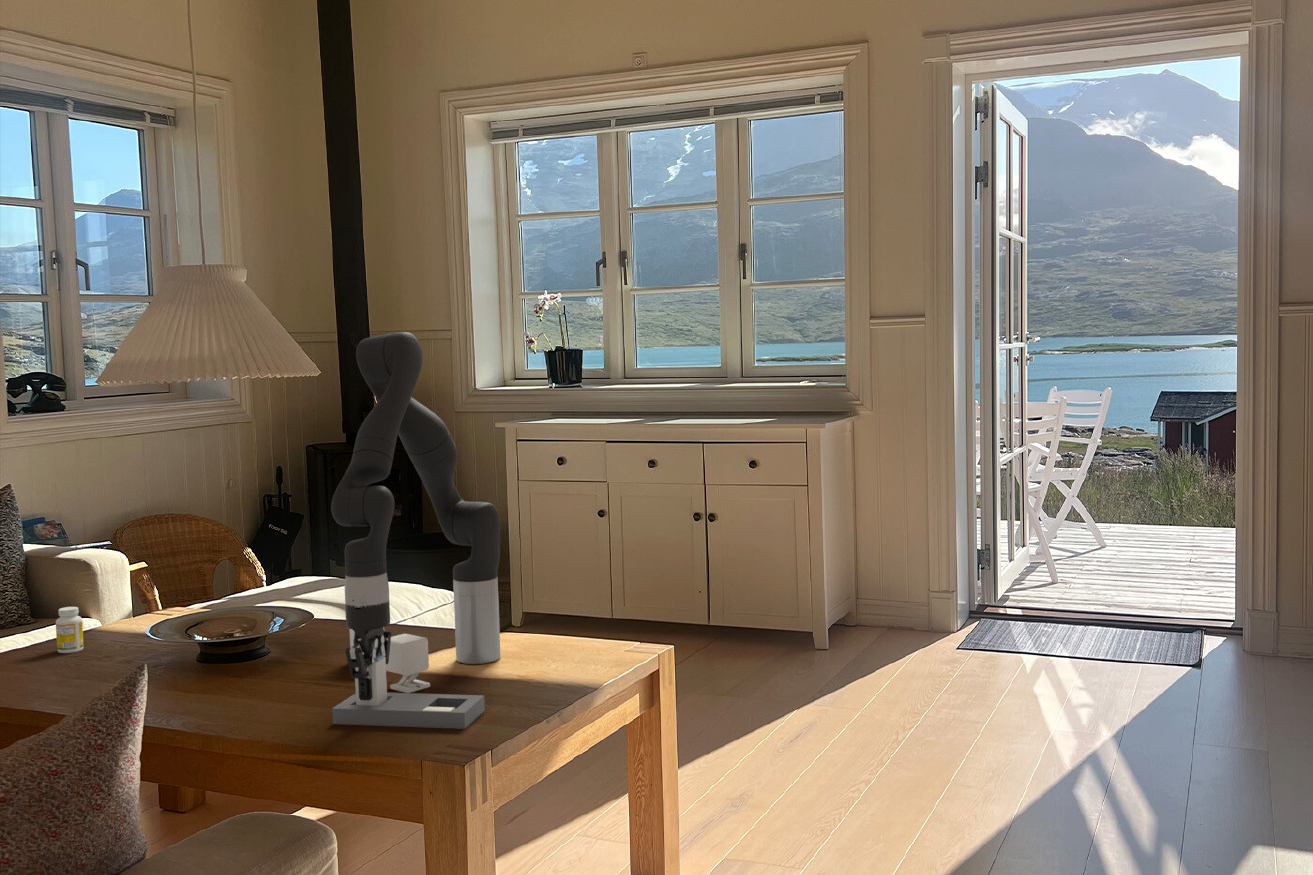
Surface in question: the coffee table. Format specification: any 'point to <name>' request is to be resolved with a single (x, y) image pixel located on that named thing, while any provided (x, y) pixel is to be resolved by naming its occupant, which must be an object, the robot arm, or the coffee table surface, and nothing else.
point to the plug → (375, 683)
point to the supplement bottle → (69, 630)
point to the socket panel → (413, 711)
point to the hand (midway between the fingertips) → (371, 695)
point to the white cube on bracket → (408, 661)
